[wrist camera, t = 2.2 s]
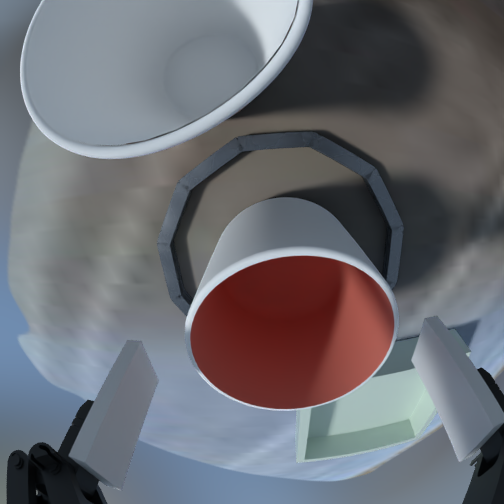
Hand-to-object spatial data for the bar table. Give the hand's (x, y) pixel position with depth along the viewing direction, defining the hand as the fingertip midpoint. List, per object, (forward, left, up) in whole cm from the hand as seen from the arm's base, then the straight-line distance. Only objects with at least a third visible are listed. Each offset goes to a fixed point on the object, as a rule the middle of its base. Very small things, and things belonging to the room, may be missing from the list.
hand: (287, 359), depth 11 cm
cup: (0, 0, -11) cm, 11 cm away
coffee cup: (+4, -14, -11) cm, 18 cm away
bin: (-10, +19, -10) cm, 24 cm away
